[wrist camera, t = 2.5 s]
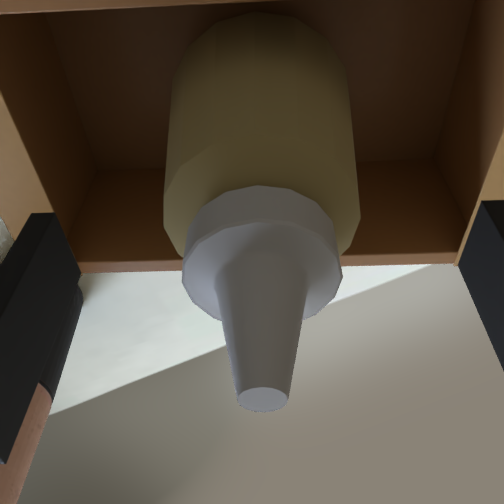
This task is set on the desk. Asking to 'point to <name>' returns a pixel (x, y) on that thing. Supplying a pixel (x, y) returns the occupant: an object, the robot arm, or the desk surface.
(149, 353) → the desk surface
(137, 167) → the wooden box
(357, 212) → the squeeze bottle
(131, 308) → the desk surface
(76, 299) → the travel mug
